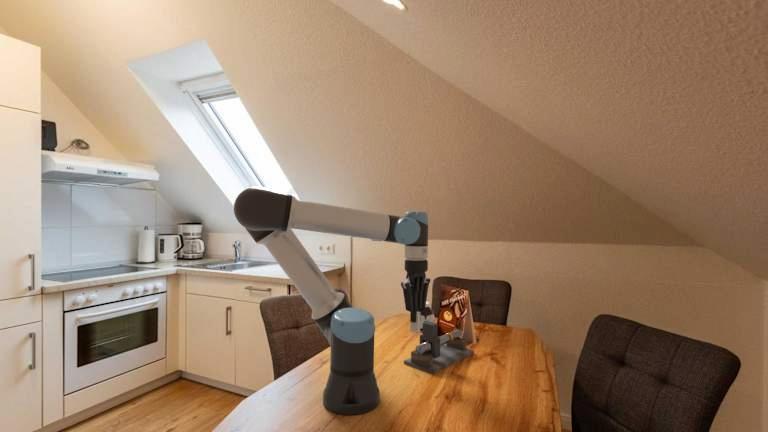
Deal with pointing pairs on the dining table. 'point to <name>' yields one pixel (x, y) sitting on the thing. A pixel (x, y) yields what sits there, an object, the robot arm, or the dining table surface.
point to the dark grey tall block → (431, 338)
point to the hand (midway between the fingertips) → (415, 331)
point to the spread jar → (426, 315)
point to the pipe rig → (448, 356)
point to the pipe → (443, 340)
